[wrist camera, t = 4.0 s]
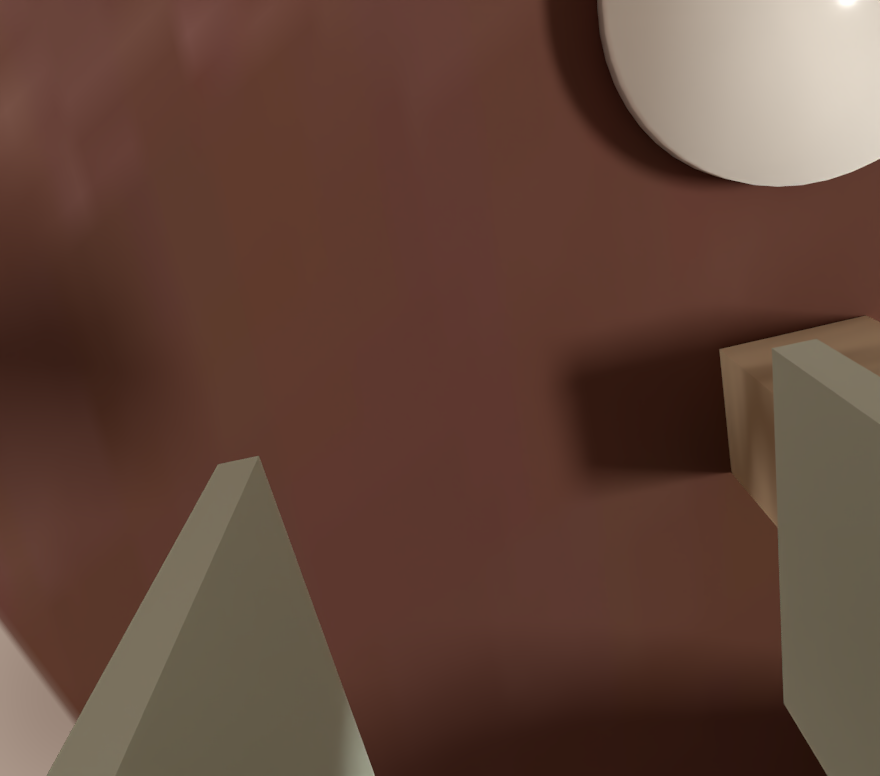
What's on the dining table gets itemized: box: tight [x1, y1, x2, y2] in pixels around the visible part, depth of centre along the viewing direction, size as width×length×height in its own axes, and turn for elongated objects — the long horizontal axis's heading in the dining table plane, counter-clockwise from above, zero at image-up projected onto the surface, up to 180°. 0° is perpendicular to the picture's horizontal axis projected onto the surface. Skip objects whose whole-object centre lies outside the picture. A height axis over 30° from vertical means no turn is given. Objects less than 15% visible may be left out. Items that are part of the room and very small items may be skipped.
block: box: [719, 316, 880, 527], centre depth 18 cm, size 4×4×4 cm
